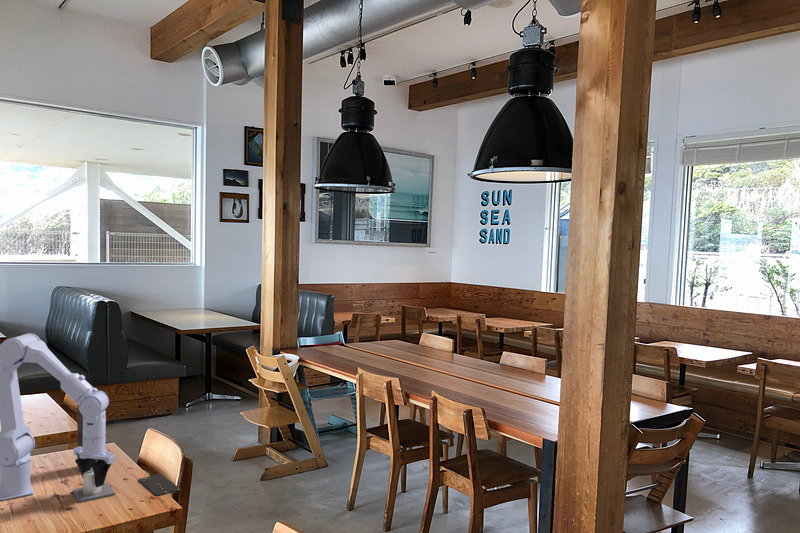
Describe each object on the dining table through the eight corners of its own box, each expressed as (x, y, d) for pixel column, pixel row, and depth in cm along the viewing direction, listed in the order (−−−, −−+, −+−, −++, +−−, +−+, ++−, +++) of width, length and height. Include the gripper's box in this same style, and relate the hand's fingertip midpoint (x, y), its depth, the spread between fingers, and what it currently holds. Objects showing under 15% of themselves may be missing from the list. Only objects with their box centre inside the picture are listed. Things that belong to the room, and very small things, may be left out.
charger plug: (80, 493, 173) (80, 469, 173) (99, 486, 178) (99, 463, 178) (88, 496, 172) (88, 471, 172) (106, 488, 177) (106, 465, 177)
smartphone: (155, 495, 174) (136, 478, 185) (155, 498, 174) (136, 481, 185) (181, 488, 179) (161, 472, 190) (181, 491, 179) (161, 475, 190)
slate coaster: (72, 491, 176) (72, 489, 176) (107, 484, 182) (107, 482, 182) (79, 502, 169) (79, 500, 169) (115, 495, 174) (115, 492, 174)
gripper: (63, 435, 174) (63, 483, 175) (99, 444, 168) (99, 494, 168) (86, 429, 180) (86, 475, 181) (121, 437, 174) (121, 485, 175)
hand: (93, 484), depth 175 cm, fingers open, 4 cm apart
